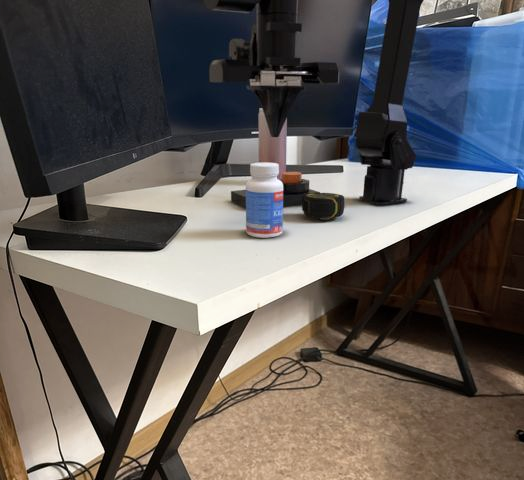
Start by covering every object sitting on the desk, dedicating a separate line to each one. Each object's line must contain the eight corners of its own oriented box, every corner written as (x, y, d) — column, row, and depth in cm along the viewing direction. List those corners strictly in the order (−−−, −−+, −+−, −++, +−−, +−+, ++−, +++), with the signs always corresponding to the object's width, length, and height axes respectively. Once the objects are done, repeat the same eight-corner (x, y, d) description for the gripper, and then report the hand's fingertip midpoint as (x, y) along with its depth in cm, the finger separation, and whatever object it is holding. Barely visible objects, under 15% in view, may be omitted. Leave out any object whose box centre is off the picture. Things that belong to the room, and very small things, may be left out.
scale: (295, 194, 102) (295, 176, 100) (319, 202, 95) (320, 183, 93) (231, 201, 96) (230, 182, 94) (252, 210, 89) (251, 190, 87)
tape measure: (340, 213, 87) (342, 190, 85) (345, 222, 81) (347, 198, 79) (300, 213, 87) (301, 190, 85) (302, 222, 81) (303, 198, 79)
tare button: (295, 180, 97) (295, 171, 97) (305, 183, 94) (305, 173, 94) (278, 182, 96) (278, 172, 95) (288, 185, 93) (288, 175, 92)
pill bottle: (279, 239, 73) (280, 167, 68) (243, 237, 74) (241, 166, 69) (285, 229, 77) (286, 161, 73) (250, 228, 78) (249, 161, 74)
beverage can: (257, 181, 115) (257, 107, 108) (283, 180, 116) (284, 107, 109) (260, 185, 110) (259, 109, 103) (287, 185, 111) (289, 108, 104)
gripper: (306, 25, 81) (301, 131, 88) (194, 17, 74) (199, 134, 81) (345, 17, 72) (337, 137, 79) (222, 8, 65) (225, 140, 72)
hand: (274, 137), depth 78 cm, fingers closed
